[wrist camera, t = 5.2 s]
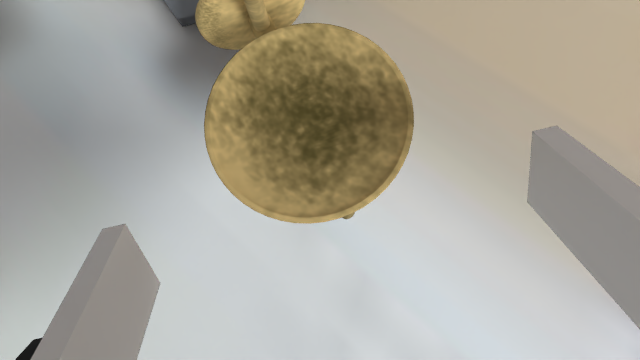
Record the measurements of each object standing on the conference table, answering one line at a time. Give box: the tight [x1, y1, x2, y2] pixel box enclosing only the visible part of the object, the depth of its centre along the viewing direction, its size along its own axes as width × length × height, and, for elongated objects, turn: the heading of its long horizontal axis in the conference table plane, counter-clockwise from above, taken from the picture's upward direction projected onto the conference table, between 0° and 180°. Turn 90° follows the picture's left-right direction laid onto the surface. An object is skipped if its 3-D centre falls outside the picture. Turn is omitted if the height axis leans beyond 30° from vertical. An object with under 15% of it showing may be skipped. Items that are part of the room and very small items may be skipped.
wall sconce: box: [195, 0, 414, 223], centre depth 18 cm, size 14×10×25 cm
